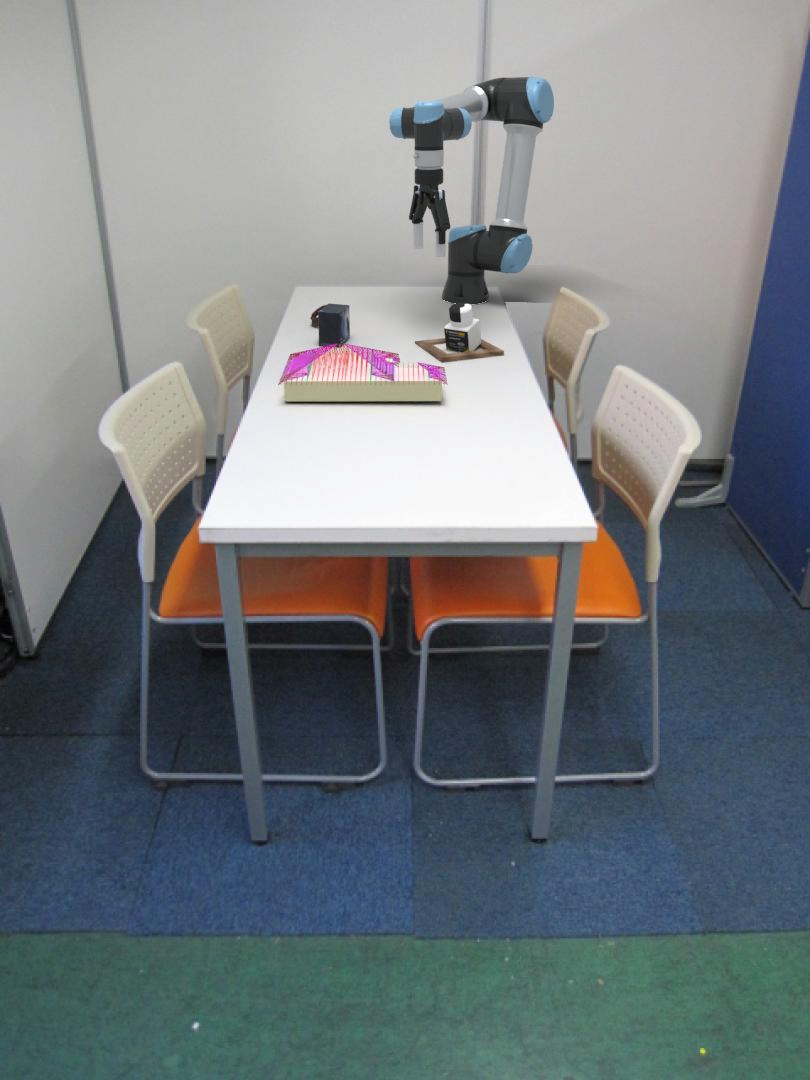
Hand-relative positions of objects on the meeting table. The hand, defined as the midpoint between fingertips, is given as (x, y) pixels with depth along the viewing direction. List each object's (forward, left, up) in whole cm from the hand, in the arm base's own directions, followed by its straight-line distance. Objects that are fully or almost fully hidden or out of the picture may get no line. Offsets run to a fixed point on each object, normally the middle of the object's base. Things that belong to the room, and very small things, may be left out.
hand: (429, 252), depth 237 cm
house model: (+31, +34, -24) cm, 52 cm away
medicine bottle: (-4, +15, -23) cm, 28 cm away
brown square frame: (-2, +16, -23) cm, 28 cm away
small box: (+27, -2, -24) cm, 36 cm away
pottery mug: (+21, -20, -25) cm, 38 cm away
